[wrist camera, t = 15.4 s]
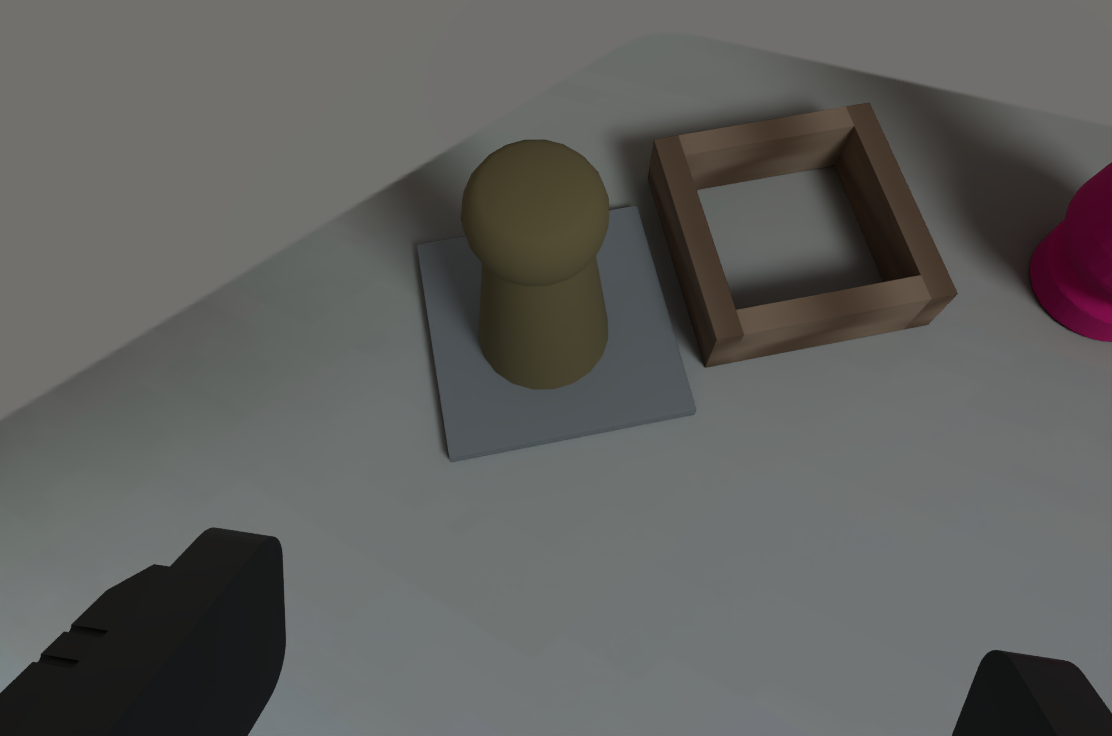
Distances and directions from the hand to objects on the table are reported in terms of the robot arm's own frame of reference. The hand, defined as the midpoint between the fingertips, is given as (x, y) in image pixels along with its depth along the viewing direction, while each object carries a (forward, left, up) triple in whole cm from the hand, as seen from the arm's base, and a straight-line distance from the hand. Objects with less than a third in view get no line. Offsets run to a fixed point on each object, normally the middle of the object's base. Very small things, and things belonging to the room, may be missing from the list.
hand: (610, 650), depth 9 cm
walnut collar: (+14, +17, -23) cm, 32 cm away
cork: (+2, +15, -23) cm, 28 cm away
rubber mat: (+2, +15, -23) cm, 28 cm away
